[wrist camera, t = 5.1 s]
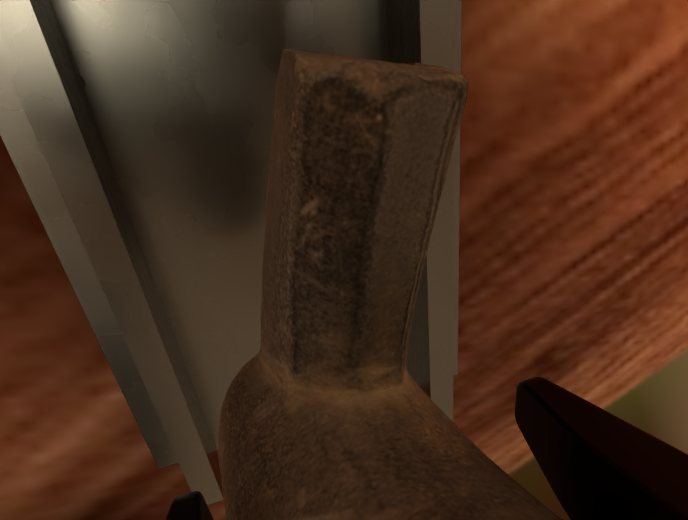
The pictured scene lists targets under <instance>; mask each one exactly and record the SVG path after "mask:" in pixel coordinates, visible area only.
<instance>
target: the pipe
mask: <svg viewBox="0 0 688 520" xmlns="http://www.w3.org/2000/svg"><path fill="white" fill-rule="evenodd" d="M467 89H468V80H467V79H466V78H465V77H464V76H463V75H461V74H460V73H459V72H457V71H455V70H452V69H449V68H445V67H440V66H435V65H428V64H421V63H415V62H414V63H410V64H405V63H402V64H399V63H391V62H386V61H380V60H370V59H363V58H358V57H354V56H343V55H331V54H322V53H315V52H308V51H302V50H294V49H285V50H282V55H281V60H280V65H279V71H278V76H277V81H276V93H275V104H274V116H273V129H272V141H271V153H270V164H269V176H268V187H267V204H266V223H265V238H264V253H263V268H262V303H261V348H260V350H259V353H258V354H257V355H256V356H255V357H253V358H252V359H251V360H250V361H249V362H247V363H246V364H245V365H244V366H243V367H242V368H241V370H240V371H239V372H238V374H237V375H236V376H235V378H234V379H233V381H232V382H231V384H230V386H229V388H228V390H227V393H226V396H225V398H224V401H223V404H222V407H221V413H220V421H219V428H218V436H217V437H218V446H219V455H220V464H221V472H222V483H223V492H224V500H225V509H226V517H227V520H563V519H561V518H560V517H559V516H557V515H556V514H555V513H553V512H552V511H551V510H549V509H548V508H547V507H546V506H544V505H543V504H542V503H541V502H540V501H538V500H537V499H536V498H535V497H534V496H533V495H531V494H530V493H529V492H528V491H527V490H525V489H524V488H523V487H522V486H521V485H520V484H518V483H517V482H516V481H515V480H514V479H512V478H511V477H510V476H509V475H508V474H507V473H506V472H504V471H503V470H502V469H501V468H500V467H499V466H497V465H496V464H495V463H494V462H493V461H492V460H491V459H489V458H488V457H487V456H486V455H485V454H484V453H483V452H482V451H481V450H480V449H479V448H478V447H477V446H476V445H475V444H474V443H473V442H472V441H471V440H470V439H469V438H468V437H467V436H466V435H465V434H464V433H463V432H462V431H461V430H460V429H459V428H458V427H457V426H456V425H455V423H454V422H453V421H452V420H451V419H450V418H449V417H448V416H447V415H446V414H445V413H444V412H443V411H442V410H441V409H440V408H439V407H438V406H437V405H436V404H435V403H434V402H433V401H432V400H431V399H430V398H429V397H428V395H427V394H426V393H425V392H424V391H423V390H422V389H421V388H420V386H419V385H418V384H417V383H416V382H415V381H414V380H413V378H412V377H411V375H410V374H409V372H408V371H407V369H406V360H407V352H408V345H409V339H410V332H411V326H412V320H413V314H414V309H415V303H416V298H417V293H418V288H419V284H420V280H421V276H422V272H423V267H424V263H425V259H426V255H427V251H428V246H429V242H430V238H431V234H432V230H433V225H434V221H435V217H436V213H437V209H438V205H439V201H440V198H441V194H442V190H443V186H444V182H445V178H446V174H447V170H448V166H449V162H450V158H451V154H452V150H453V146H454V142H455V138H456V135H457V131H458V128H459V124H460V121H461V117H462V113H463V110H464V106H465V102H466V97H467Z"/></svg>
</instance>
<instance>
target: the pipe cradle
mask: <svg viewBox="0 0 688 520" xmlns="http://www.w3.org/2000/svg"><path fill="white" fill-rule="evenodd" d="M461 18H462V0H0V135H1V137H2V140H3V142H4V144H5V146H6V148H7V150H8V152H9V154H10V156H11V159H12V161H13V163H14V165H15V167H16V169H17V171H18V173H19V175H20V177H21V180H22V182H23V184H24V186H25V188H26V190H27V192H28V194H29V196H30V199H31V201H32V203H33V205H34V207H35V209H36V211H37V213H38V215H39V217H40V220H41V222H42V224H43V226H44V228H45V230H46V232H47V234H48V236H49V239H50V241H51V243H52V245H53V247H54V249H55V251H56V253H57V255H58V257H59V260H60V262H61V264H62V266H63V268H64V270H65V272H66V274H67V276H68V279H69V281H70V283H71V285H72V287H73V289H74V291H75V293H76V295H77V297H78V300H79V302H80V304H81V306H82V308H83V310H84V312H85V314H86V316H87V319H88V321H89V323H90V325H91V327H92V329H93V331H94V333H95V335H96V337H97V340H98V342H99V344H100V346H101V348H102V350H103V352H104V354H105V356H106V358H107V361H108V363H109V365H110V367H111V369H112V371H113V373H114V375H115V377H116V380H117V382H118V384H119V386H120V388H121V390H122V392H123V394H124V396H125V398H126V401H127V403H128V405H129V407H130V409H131V411H132V413H133V415H134V417H135V420H136V422H137V424H138V426H139V428H140V430H141V432H142V434H143V436H144V438H145V441H146V443H147V445H148V447H149V449H150V451H151V453H152V455H153V457H154V460H155V462H156V464H157V466H158V468H159V469H160V468H163V467H166V466H169V465H172V464H175V463H179V465H180V467H181V469H182V471H183V474H184V476H185V478H186V480H187V483H188V485H189V487H190V490H191V492H194V491H200V492H201V493H202V495H203V497H204V499H205V502H206V504H207V505H209V504H212V503H215V502H218V501H221V500H224V498H223V490H222V483H221V475H220V468H219V460H218V453H217V450H219V446H218V437H217V436H218V428H219V421H220V413H221V407H222V404H223V401H224V398H225V396H226V393H227V390H228V388H229V386H230V384H231V382H232V381H233V379H234V378H235V376H236V375H237V374H238V372H239V371H240V370H241V368H242V367H243V366H244V365H245V364H246V363H247V362H249V361H250V360H251V359H252V358H253V357H255V356H256V355H257V354H258V353H259V350H260V348H261V303H262V268H263V253H264V238H265V223H266V204H267V187H268V176H269V164H270V153H271V141H272V129H273V116H274V104H275V93H276V81H277V76H278V71H279V65H280V60H281V55H282V50H285V49H294V50H302V51H308V52H315V53H322V54H331V55H343V56H354V57H358V58H363V59H370V60H380V61H386V62H391V63H399V64H402V63H405V64H410V63H414V62H415V63H421V64H428V65H435V66H440V67H445V68H449V69H452V70H455V71H457V72H459V73H460V74H461ZM459 203H460V124H459V128H458V131H457V135H456V138H455V142H454V146H453V150H452V154H451V158H450V162H449V166H448V170H447V174H446V178H445V182H444V186H443V190H442V194H441V198H440V201H439V205H438V209H437V213H436V217H435V221H434V225H433V230H432V234H431V238H430V242H429V246H428V251H427V255H426V259H425V263H424V267H423V272H422V276H421V280H420V284H419V288H418V293H417V298H416V303H415V309H414V314H413V320H412V326H411V332H410V339H409V345H408V352H407V360H406V369H407V371H408V372H409V374H410V375H411V377H412V378H413V380H414V381H415V382H416V383H417V384H418V385H419V386H420V388H421V389H422V390H423V391H424V392H425V393H426V394H427V395H428V397H429V398H430V399H431V400H432V401H433V402H434V403H435V404H436V405H437V406H438V407H439V408H440V409H441V410H442V411H443V412H444V413H445V414H446V415H447V416H448V417H449V418H450V419H451V420H452V421H453V375H456V374H458V296H459Z"/></svg>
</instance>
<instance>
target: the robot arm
mask: <svg viewBox="0 0 688 520" xmlns="http://www.w3.org/2000/svg"><path fill="white" fill-rule="evenodd" d="M515 418H516V422H517V424H518V427H519V429H520V430H521V432H522V434H523V436H524V438H525V440H526V442H527V443H528V445H529V447H530V449H531V451H532V453H533V455H534V457H535V458H536V460H537V462H538V464H539V466H540V467H541V470H542V471H543V473H544V475H545V477H546V479H547V481H548V483H549V484H550V486H551V488H552V490H553V492H554V494H555V495H556V497H557V499H558V501H559V502H560V504H561V505H562V507H563V509H564V510H565V512H566V513H567V515H568V517H569V518H570V520H688V454H686V453H684V452H682V451H680V450H679V449H677V448H675V447H673V446H671V445H669V444H667V443H665V442H664V441H662V440H660V439H658V438H656V437H654V436H652V435H650V434H649V433H647V432H645V431H643V430H641V429H639V428H637V427H635V426H633V425H632V424H629V423H628V422H626V421H624V420H622V419H620V418H618V417H616V416H614V415H613V414H611V413H609V412H607V411H605V410H603V409H601V408H600V407H598V406H596V405H594V404H592V403H590V402H588V401H586V400H584V399H583V398H581V397H579V396H577V395H575V394H573V393H571V392H569V391H568V390H566V389H564V388H562V387H560V386H558V385H556V384H554V383H552V382H551V381H549V380H547V379H545V378H542V377H534V378H531V379H528V380H525V381H522V382H520V383H519V384H518V386H517V391H516V403H515ZM166 520H213V517H212V515H211V513H210V511H209V508H208V506H207V504H206V502H205V499H204V497H203V495H202V493H201V492H200V491H194V492H191V493H188V494H185V495H182V496H179V497H177V498H175V499H174V501H173V502H172V504H171V507H170V509H169V512H168V515H167V517H166Z"/></svg>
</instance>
